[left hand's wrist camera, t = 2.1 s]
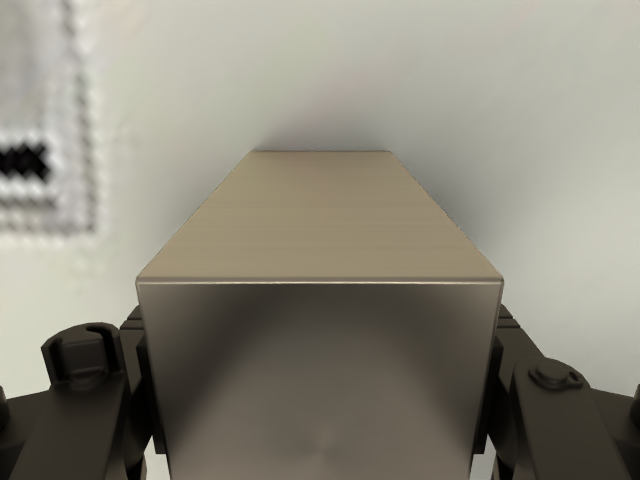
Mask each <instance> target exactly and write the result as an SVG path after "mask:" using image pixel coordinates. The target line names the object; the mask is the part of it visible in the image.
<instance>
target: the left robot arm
mask: <svg viewBox="0 0 640 480" xmlns="http://www.w3.org/2000/svg"><path fill="white" fill-rule="evenodd" d="M41 351H42V354H43V358H44V361H45V365H46V368H47V372H48V375H49V379H50V382H51V386H50V388H49V390H47V391H43V392H39V393H34V394H29V395H25V396H20V397H15V398H10V399H6V397H5V394H4V391H3V388H2V387H1V386H0V480H146V474H147V467H146V461H145V456H144V451H145V449H146V447H147V445H148V442H149V440H150V438H151V436H153V441H154V447H155V452H156V454H166V452H165V446H164V441H163V435H162V430H161V424H160V418H159V413H158V407H157V402H156V396H155V391H154V385H153V379H152V374H151V368H150V363H149V357H148V351H147V346H146V340H145V335H144V329H143V323H142V318H141V312H140V307H139V305H138V306H136V308H135V309H134V310H133V311H132V313H131V314H130V315H129V316H128V318H127V320H125V321H124V323H123V324H122V325H121V327H120V330H119V329H118V328H116V327H115V326H114V325H112V324H108V323H103V322H97V323H86V324H81V325H77V326H73V327H71V328H68V329H66V330H63V331H61V332H59V333H57V334H55V335H54V336H52V337H51V338H49V339H48V340H47V341H46V342H45V343H44V344H43V345H42V347H41ZM488 434H489V437H490V439H491V441H492V443H493V445H494V447H495V449H496V456H495V461H494V466H493V471H492V475H491V480H640V384H639V385H638V387H637V390H636V393H635V396H634V397H629V396H624V395H619V394H615V393H610V392H605V391H600V390H596V389H593V388H591V387H590V385H589V383H588V382H587V381H586V379H585V378H584V377H583V375H582V374H580V373H579V372H578V371H576V370H575V369H574V368H572V367H571V366H569V365H566V364H564V363H562V362H560V361H558V360H554V359H550V358H546V357H544V355H543V354H542V353H541V352H540V350H539V349H538V348H537V346H536V345H535V344H534V343H533V341H532V340H531V339H530V338H529V336H528V335H527V334H526V333H525V331H524V330H523V329H521V328H520V325H519V324H518V323H517V321H516V320H515V319H513V316H512V315H511V314H510V312H509V311H508V310H507V309H506V307H505V306H504V305H503V304H500V310H499V315H498V321H497V326H496V332H495V338H494V343H493V349H492V354H491V360H490V366H489V371H488V377H487V382H486V388H485V394H484V399H483V405H482V410H481V416H480V422H479V427H478V433H477V438H476V444H475V450H474V454H484V451H485V445H486V440H487V435H488Z"/></svg>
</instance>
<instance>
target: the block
mask: <svg viewBox="0 0 640 480" xmlns="http://www.w3.org/2000/svg"><path fill="white" fill-rule="evenodd" d="M135 284H136V290H137V295H138V301H139V307H140V312H141V318H142V323H143V329H144V335H145V340H146V346H147V351H148V357H149V363H150V368H151V374H152V379H153V385H154V391H155V396H156V402H157V407H158V413H159V418H160V424H161V430H162V435H163V441H164V446H165V452H166V458H167V463H168V469H169V474H170V480H469V478H470V472H471V467H472V461H473V455H474V450H475V444H476V438H477V433H478V427H479V422H480V416H481V410H482V405H483V399H484V394H485V388H486V382H487V377H488V371H489V366H490V360H491V354H492V349H493V343H494V338H495V332H496V326H497V321H498V315H499V310H500V304H501V298H502V293H503V287H504V279H503V277H502V275H501V274H500V273H499V272H498V271H497V270H496V269H495V268H494V267H493V265H492V264H491V263H490V262H489V261H488V260H487V259H486V258H485V257H484V255H483V254H482V253H481V252H480V251H479V250H478V249H477V248H476V247H475V245H474V244H473V243H472V242H471V241H470V240H469V239H468V238H467V237H466V235H465V234H464V233H463V232H462V231H461V230H460V229H459V228H458V227H457V225H456V224H455V223H454V222H453V221H452V220H451V219H450V218H449V217H448V215H447V214H446V213H445V212H444V211H443V210H442V209H441V208H440V207H439V205H438V204H437V203H436V202H435V201H434V200H433V199H432V198H431V197H430V195H429V194H428V193H427V192H426V191H425V190H424V189H423V188H422V187H421V185H420V184H419V183H418V182H417V181H416V180H415V179H414V178H413V177H412V175H411V174H410V173H409V172H408V171H407V170H406V169H405V168H404V167H403V165H402V164H401V163H400V162H399V161H398V160H397V159H396V158H395V157H394V155H393V154H392V153H391V152H389V151H251V152H249V153H248V154H247V155H246V156H245V157H244V159H243V160H242V161H241V162H240V163H239V164H238V165H237V166H236V167H235V169H234V170H233V171H232V172H231V173H230V174H229V175H228V176H227V177H226V178H225V180H224V181H223V182H222V183H221V184H220V185H219V186H218V187H217V188H216V190H215V191H214V192H213V193H212V194H211V195H210V196H209V197H208V198H207V200H206V201H205V202H204V203H203V204H202V205H201V206H200V207H199V208H198V210H197V211H196V212H195V213H194V214H193V215H192V216H191V217H190V218H189V219H188V221H187V222H186V223H185V224H184V225H183V226H182V227H181V228H180V229H179V231H178V232H177V233H176V234H175V235H174V236H173V237H172V238H171V239H170V241H169V242H168V243H167V244H166V245H165V246H164V247H163V248H162V249H161V251H160V252H159V253H158V254H157V255H156V256H155V257H154V258H153V259H152V260H151V262H150V263H149V264H148V265H147V266H146V267H145V268H144V269H143V270H142V272H141V273H140V274H139V275H138V276H137V277H136V281H135Z"/></svg>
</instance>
